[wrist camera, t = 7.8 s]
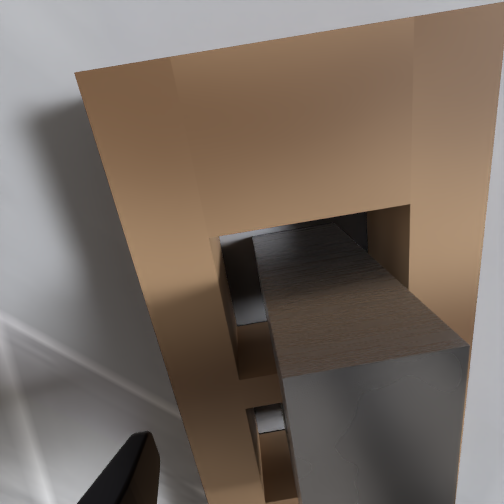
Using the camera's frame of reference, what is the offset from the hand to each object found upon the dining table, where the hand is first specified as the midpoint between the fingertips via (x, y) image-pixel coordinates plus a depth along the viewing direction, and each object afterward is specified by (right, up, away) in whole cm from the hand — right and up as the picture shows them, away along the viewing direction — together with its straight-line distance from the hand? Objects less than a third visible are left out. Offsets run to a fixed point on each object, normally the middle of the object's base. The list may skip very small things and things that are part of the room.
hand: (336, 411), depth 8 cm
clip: (0, +1, +3) cm, 4 cm away
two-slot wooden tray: (0, +1, +3) cm, 4 cm away
